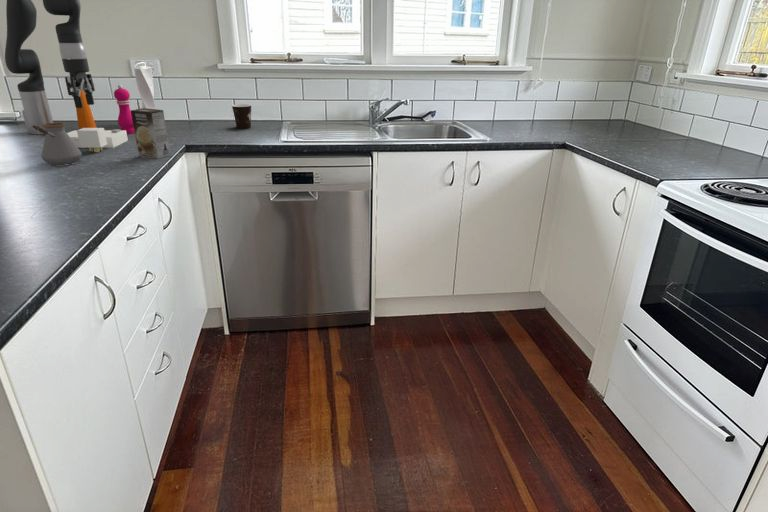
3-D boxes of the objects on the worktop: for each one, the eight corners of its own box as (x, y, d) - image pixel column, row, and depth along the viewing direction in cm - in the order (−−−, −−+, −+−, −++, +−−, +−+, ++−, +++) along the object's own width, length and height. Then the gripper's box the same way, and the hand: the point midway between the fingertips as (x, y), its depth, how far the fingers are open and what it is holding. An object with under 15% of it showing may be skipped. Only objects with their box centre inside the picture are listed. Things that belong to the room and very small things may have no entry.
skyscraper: (145, 124, 237) (134, 62, 226) (163, 124, 238) (152, 62, 226) (139, 127, 229) (127, 63, 218) (157, 127, 230) (146, 63, 219)
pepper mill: (133, 134, 213) (124, 85, 205) (116, 134, 213) (106, 85, 205) (141, 131, 219) (132, 83, 211) (125, 131, 219) (115, 83, 211)
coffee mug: (245, 125, 237) (242, 103, 233) (257, 127, 232) (255, 105, 228) (225, 128, 228) (222, 106, 224) (237, 130, 224) (234, 108, 220)
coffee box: (137, 156, 176) (128, 110, 169) (151, 153, 181) (142, 107, 175) (158, 159, 173) (150, 111, 166) (171, 155, 179) (163, 109, 172)
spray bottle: (108, 132, 217) (94, 68, 206) (80, 134, 211) (64, 68, 200) (105, 129, 222) (92, 67, 211) (78, 131, 217) (63, 67, 206)
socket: (58, 147, 187) (55, 134, 185) (76, 140, 200) (74, 128, 198) (113, 147, 188) (110, 134, 186) (128, 140, 201) (125, 128, 199)
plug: (73, 152, 180) (67, 130, 176) (80, 149, 185) (75, 127, 181) (101, 152, 180) (97, 130, 177) (108, 149, 185) (103, 127, 182)
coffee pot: (51, 160, 170) (39, 115, 163) (88, 158, 172) (77, 114, 166) (24, 176, 151) (10, 126, 144) (66, 174, 153) (54, 125, 147)
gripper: (73, 56, 176) (83, 103, 182) (51, 58, 163) (64, 109, 169) (95, 56, 176) (105, 103, 183) (75, 58, 163) (86, 109, 170)
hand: (85, 106), depth 176 cm, fingers open, 8 cm apart
